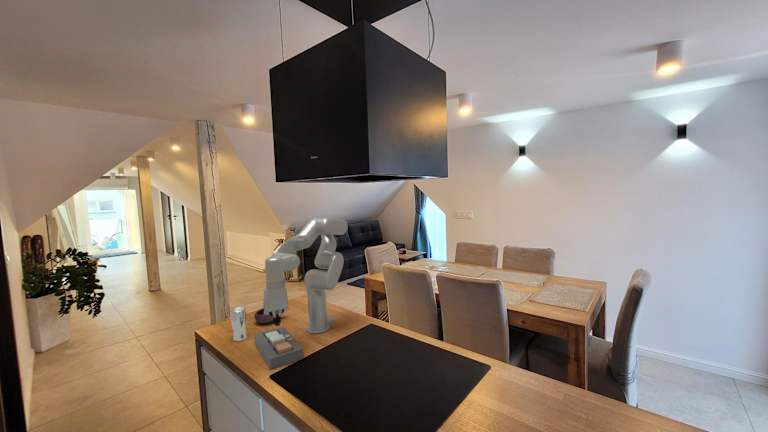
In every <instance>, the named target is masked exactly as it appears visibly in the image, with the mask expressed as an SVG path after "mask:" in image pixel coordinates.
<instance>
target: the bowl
mask: <svg viewBox="0 0 768 432" xmlns="http://www.w3.org/2000/svg"><path fill="white" fill-rule="evenodd" d="M277 311H278V310H277ZM277 311H275V314H276V315H277ZM253 318H254V320H255V321H256V322H257V323H260V324H269V323H271V322H273V317H272V316H271V315H265V314H264V307H263V308H261V309H259V310H256V312H255V313H254V315H253Z"/></svg>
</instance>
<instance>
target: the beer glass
mask: <svg viewBox="0 0 768 432" xmlns="http://www.w3.org/2000/svg"><path fill="white" fill-rule="evenodd" d="M230 323H231V328H232V331H233V338H232V339H233V341H234V342H241V341H243V340H246V339H247V337H248V336H247V333H246V325H247V312H246V308H245V307H242V306H239V307H234V308H232V309H230Z"/></svg>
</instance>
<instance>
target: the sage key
mask: <svg viewBox="0 0 768 432" xmlns="http://www.w3.org/2000/svg"><path fill="white" fill-rule="evenodd" d="M276 335H280V334H279V333H278V332H277V331H272V332H268V333H265V337H266V339H268V338H269V337H273V336H276Z"/></svg>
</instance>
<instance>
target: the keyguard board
mask: <svg viewBox="0 0 768 432" xmlns="http://www.w3.org/2000/svg"><path fill="white" fill-rule="evenodd" d="M272 331H277V332H278V333H279V334H282V335H283V336H284V338H285V342H287V341H288V342H289V344H290V345H291V346H292V351H288V352H285V353H282V354H279V355H277V353H276V352H275V346H271V345H270V340H269V338H268V339H266V337H265V333H268V332H272ZM253 335H254V344H255V345H256V347H257V349H258V350H259V352H260V354H261V356H262V357H263V359H264V361H265V363H266V365H267V367H268V368H269V370H274V369H277V368H280V367H282V366H286V365H288V364H291V363H294V362H297V361H300V360H303V359H304V348H303V347H302V346H301V345H300V343H298V341H297V340H296V338H294V337H293V335H291V333H290V332H289V331H288V330H287V329H286V328H285V326H281V327H280V326H279V327H276V328H272V329H270V330H269V329H268V330H265V331H262V332H258V333H254V334H253Z"/></svg>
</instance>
